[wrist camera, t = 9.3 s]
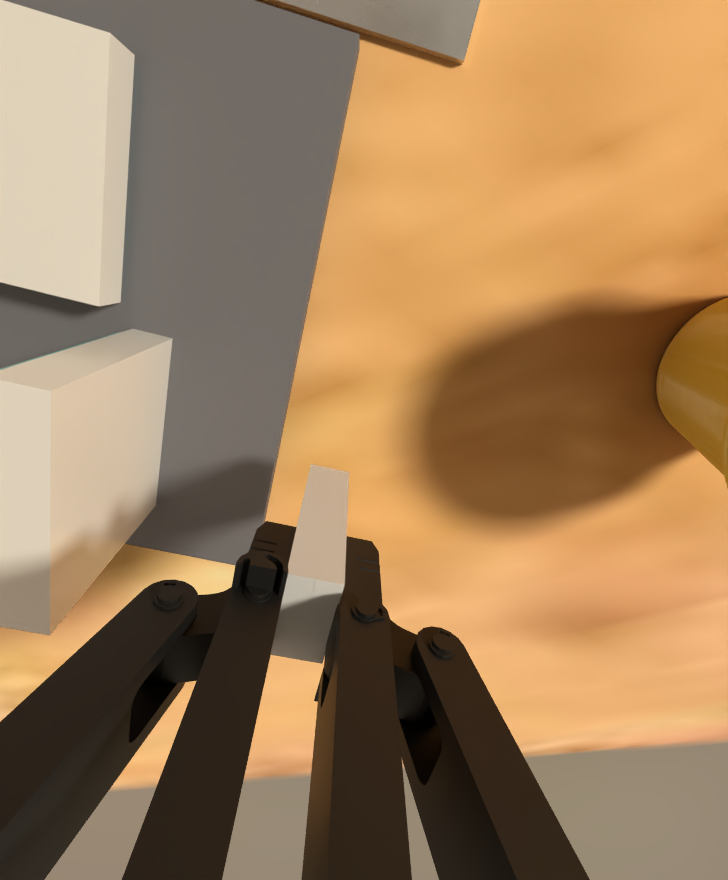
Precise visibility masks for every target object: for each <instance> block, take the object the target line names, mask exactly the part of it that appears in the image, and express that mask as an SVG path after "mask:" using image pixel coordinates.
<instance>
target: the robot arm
mask: <svg viewBox="0 0 728 880" xmlns="http://www.w3.org/2000/svg"><path fill="white" fill-rule="evenodd" d="M348 488H349V472H346V471H341V470H337V469H332V468H327V467H323V466H318V465H314V464H311V466H310V471H309V475H308V479H307V484H306V488H305V493H304V497H303V502H302V506H301V510H300V515H299V519H298V524H297V527H293V526H288V525H283V524H278V523H273V522H268V521H266V522H265V523H264V524H262V525H261V526H260V527H259V528H257V530H256V533H255V536H254V538H253V541H252V544H251V546H250V549H249V552H248V553H246V554H244V555H242V556H240V558H239V559H238V560H237V562H236V566H235V572H234V578H233V583H232V587H231V588H229V589H228V590H226V591H223V592H220V593H216V594H209V595H198V593H197V592H196V590H195V589H194V587H193V586H191V585H189V584H188V583H186V582H183V581H178V580H163V581H160V582H156V583H153V584H151V585H150V586H148V587H147V588H145V589H144V590H143V591H142V592H141V593H140V594H139V595H137V596H136V597H135V598H134V599H133V600H132V601H131V602H130V603H129V604H128V605H127V606H126V607H124V608H123V609H122V610H121V611H120V612H119V613H118V614H117V615H116V616H115V617H114V618H113V619H111V620H110V621H109V622H108V623H107V624H106V625H105V626H104V627H103V628H102V629H101V630H100V631H98V632H97V633H96V634H95V635H94V636H93V637H92V638H91V639H90V640H89V641H88V642H86V643H85V644H84V645H83V646H82V647H81V648H80V649H79V650H78V651H77V652H76V653H75V654H73V655H72V656H71V657H70V658H69V659H68V660H67V661H66V662H65V663H64V664H63V665H62V666H60V667H59V668H58V669H57V670H56V671H55V672H54V673H53V674H52V675H51V676H50V677H49V678H47V679H46V680H45V681H44V682H43V683H42V684H41V685H40V686H39V687H38V688H37V689H36V690H34V691H33V692H32V693H31V694H30V695H29V696H28V697H27V698H26V699H25V700H24V701H23V702H21V703H20V704H19V705H18V706H17V707H16V708H15V709H14V710H13V711H12V712H11V713H10V714H8V715H7V716H6V717H5V718H4V719H3V720H2V721H1V722H0V880H44V879H45V878H46V877H47V875H48V874H49V872H50V871H51V869H52V868H53V867H54V865H55V864H56V863H57V861H58V860H59V858H60V857H61V856H62V854H63V853H64V852H65V850H66V849H67V847H68V846H69V844H70V843H71V842H72V840H73V839H74V838H75V836H76V835H77V834H78V832H79V831H80V829H81V828H82V827H83V825H84V824H85V822H86V821H87V820H88V818H89V817H90V815H91V814H92V813H93V811H94V810H95V809H96V807H97V806H98V804H99V803H100V801H101V800H102V799H103V797H104V796H105V795H106V793H107V792H108V790H109V789H110V788H111V786H112V785H113V784H114V782H115V781H116V779H117V778H118V777H119V775H120V774H121V772H122V771H123V770H124V768H125V767H126V766H127V764H128V763H129V761H130V760H131V759H132V757H133V756H134V754H135V753H136V752H137V750H138V749H139V747H140V746H141V745H142V743H143V742H144V741H145V739H146V738H147V736H148V735H149V734H150V732H151V731H152V729H153V728H154V727H155V725H156V724H157V722H158V721H159V720H160V718H161V717H162V716H163V714H164V713H165V711H166V710H167V709H168V707H169V706H170V704H171V703H172V702H173V700H174V699H175V698H176V696H177V695H178V693H179V692H180V691H181V689H182V688H183V686H184V684H185V682H189V681H196V684H195V687H194V689H193V692H192V695H191V697H190V700H189V703H188V705H187V708H186V711H185V713H184V716H183V719H182V721H181V724H180V727H179V729H178V732H177V735H176V737H175V740H174V743H173V745H172V748H171V750H170V753H169V756H168V758H167V761H166V764H165V766H164V769H163V772H162V774H161V777H160V780H159V782H158V785H157V788H156V790H155V793H154V796H153V798H152V801H151V804H150V806H149V809H148V812H147V814H146V817H145V820H144V822H143V825H142V828H141V830H140V833H139V836H138V838H137V841H136V843H135V846H134V849H133V851H132V854H131V857H130V859H129V862H128V865H127V867H126V870H125V873H124V875H123V878H122V880H222V876H223V871H224V867H225V862H226V857H227V853H228V849H229V844H230V839H231V835H232V830H233V825H234V821H235V816H236V812H237V807H238V802H239V798H240V793H241V788H242V784H243V779H244V775H245V770H246V765H247V761H248V756H249V751H250V747H251V742H252V738H253V733H254V728H255V724H256V719H257V714H258V710H259V705H260V700H261V696H262V691H263V687H264V682H265V677H266V673H267V668H268V663H269V659H270V655H276V656H282V657H287V658H293V659H299V660H305V661H310V662H316V663H323V659H324V656H325V662H324V668H323V672H322V675H321V679H320V682H319V685H318V689H317V692H316V696H315V699H314V701H318V707H317V718H316V729H315V740H314V751H313V761H312V772H311V783H310V794H309V805H308V816H307V828H306V838H305V849H304V860H303V871H302V880H412V876H411V864H410V854H409V841H408V829H407V817H406V805H405V794H404V782H403V771H402V760H403V764H404V767H405V770H406V773H407V777H408V780H409V783H410V786H411V790H412V793H413V796H414V799H415V802H416V806H417V809H418V812H419V816H420V819H421V822H422V825H423V829H424V832H425V835H426V838H427V842H428V845H429V848H430V851H431V855H432V858H433V861H434V864H435V868H436V871H437V874H438V877H439V880H590V879H589V877H588V876H587V874H586V872H585V870H584V868H583V866H582V864H581V863H580V861H579V859H578V857H577V855H576V853H575V851H574V850H573V848H572V846H571V844H570V842H569V840H568V838H567V837H566V835H565V833H564V831H563V829H562V827H561V826H560V824H559V822H558V820H557V818H556V816H555V814H554V812H553V811H552V809H551V807H550V805H549V803H548V801H547V799H546V798H545V796H544V794H543V792H542V790H541V789H540V786H539V784H538V783H537V781H536V779H535V777H534V775H533V773H532V771H531V770H530V768H529V766H528V764H527V762H526V760H525V758H524V757H523V755H522V753H521V751H520V749H519V747H518V745H517V744H516V742H515V740H514V738H513V736H512V734H511V732H510V730H509V729H508V727H507V725H506V723H505V721H504V719H503V717H502V716H501V714H500V712H499V710H498V708H497V706H496V704H495V703H494V701H493V699H492V697H491V695H490V693H489V691H488V690H487V688H486V686H485V684H484V682H483V680H482V678H481V677H480V675H479V673H478V671H477V669H476V667H475V665H474V664H473V662H472V660H471V658H470V656H469V654H468V652H467V650H466V649H465V647H464V645H463V644H462V643H461V641H460V640H459V639H458V638H457V637H456V636H455V635H453V634H452V633H451V632H449V631H447V630H444V629H442V628H438V627H427V628H423V629H422V630H421V631H419V632H418V635H416V634H414V633H412V632H409V631H407V630H405V629H403V628H401V627H399V626H398V625H396V624H395V623H394V622H392V621H391V620H390V618H389V614H388V611H387V609H386V608H385V607H384V606H383V605H382V593H381V579H380V565H379V552H378V550H377V549H376V547H375V546H374V544H373V542H372V541H367V540H362V539H357V538H352V537H347V513H348ZM401 757H402V758H401Z"/></svg>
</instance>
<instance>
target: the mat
mask: <svg viewBox="0 0 728 880" xmlns="http://www.w3.org/2000/svg"><path fill="white" fill-rule="evenodd" d="M4 1H8V2H11V3H14V4H17V5H21V6H24V7H27V8H31V9H34V10H37V11H40V12H44V13H47V14H50V15H53V16H57V17H60V18H63V19H67V20H70V21H73V22H76V23H80V24H83V25H86V26H89V27H93V28H96V29H99V30H102V31H106V32H109V33H111V34H112V35H113V36H114V37H115V38H116V39H117V40H119V41H120V42H121V43H122V44H123V45H124V46H125V47H126V48H127V49H128V50H130V51H131V52H132V53H133V54H134V55H135V58H134V76H133V93H132V111H131V128H130V146H129V164H128V181H127V199H126V216H125V234H124V252H123V269H122V287H121V302H120V303H115V304H110V305H104V306H95V305H91V304H87V303H83V302H79V301H75V300H71V299H67V298H62V297H58V296H54V295H50V294H46V293H42V292H38V291H34V290H30V289H26V288H22V287H18V286H14V285H10V284H6V283H1V282H0V369H2V368H5V367H8V366H11V365H14V364H18V363H21V362H24V361H27V360H30V359H34V358H37V357H40V356H43V355H47V354H50V353H53V352H56V351H59V350H63V349H66V348H69V347H72V346H75V345H79V344H82V343H85V342H88V341H92V340H95V339H98V338H101V337H104V336H108V335H111V334H114V333H117V332H123V331H126V330H130V329H136V330H140V331H144V332H149V333H153V334H157V335H161V336H165V337H169V338H172V348H171V358H170V368H169V379H168V389H167V399H166V409H165V419H164V429H163V439H162V449H161V459H160V469H159V479H158V489H157V499H156V506H155V507H154V508H153V509H152V511H151V512H150V513H149V514H148V516H147V517H146V518H145V519H144V521H143V522H142V523H141V524H140V525H139V527H138V528H137V529H136V530H135V532H134V533H133V534H132V535H131V536H130V538H129V539H128V540H127V541H126V543H125V544H130V545H135V546H140V547H145V548H150V549H155V550H160V551H165V552H170V553H176V554H181V555H186V556H191V557H196V558H201V559H206V560H211V561H216V562H221V563H227V564H232V565H236V562H237V560H238V559H239V558H240V556H242V555H244V554H246V553H248V552H249V549H250V546H251V544H252V541H253V538H254V536H255V533H256V530H257V528H259V527H260V526H261V525H262V524H264V522H265V517H266V512H267V507H268V502H269V497H270V492H271V487H272V482H273V477H274V472H275V467H276V462H277V457H278V452H279V447H280V442H281V437H282V432H283V427H284V422H285V417H286V412H287V407H288V403H289V398H290V393H291V388H292V383H293V378H294V373H295V368H296V363H297V358H298V353H299V348H300V343H301V338H302V333H303V328H304V323H305V318H306V313H307V308H308V303H309V298H310V293H311V288H312V283H313V278H314V273H315V268H316V263H317V258H318V253H319V248H320V243H321V238H322V233H323V228H324V223H325V218H326V213H327V208H328V203H329V198H330V193H331V188H332V183H333V178H334V173H335V168H336V163H337V158H338V153H339V148H340V143H341V138H342V133H343V128H344V123H345V118H346V114H347V109H348V104H349V99H350V94H351V89H352V84H353V79H354V74H355V69H356V64H357V59H358V54H359V34H357V33H354V32H351V31H348V30H345V29H342V28H339V27H336V26H333V25H329V24H326V23H323V22H320V21H317V20H314V19H311V18H308V17H305V16H302V15H298V14H295V13H292V12H289V11H286V10H283V9H280V8H277V7H274V6H271V5H268V4H264V3H261V2H258V1H255V0H4Z"/></svg>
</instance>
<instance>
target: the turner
mask: <svg viewBox="0 0 728 880" xmlns="http://www.w3.org/2000/svg"><path fill="white" fill-rule="evenodd" d="M262 1H265V2H268V3H271V4H275V5H278V6H281V7H284V8H287V9H290V10H293V11H296V12H299V13H302V14H306V15H309V16H312V17H315V18H318V19H321V20H324V21H327V22H330V23H334V24H337V25H340V26H343V27H346V28H349V29H352V30H355V31H358V32H361V33H365V34H368V35H371V36H374V37H377V38H380V39H383V40H386V41H389V42H392V43H396V44H399V45H402V46H405V47H408V48H411V49H414V50H417V51H420V52H424V53H427V54H430V55H433V56H436V57H439V58H442V59H445V60H448V61H451V62H455V63H458V64H461V65H462V63H463V62H464V59H465V55H466V51H467V48H468V44H469V40H470V36H471V33H472V29H473V25H474V22H475V18H476V14H477V10H478V7H479V3H480V0H262Z"/></svg>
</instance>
